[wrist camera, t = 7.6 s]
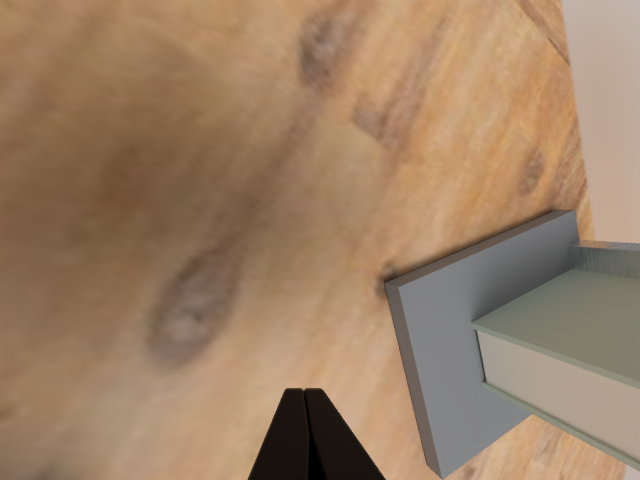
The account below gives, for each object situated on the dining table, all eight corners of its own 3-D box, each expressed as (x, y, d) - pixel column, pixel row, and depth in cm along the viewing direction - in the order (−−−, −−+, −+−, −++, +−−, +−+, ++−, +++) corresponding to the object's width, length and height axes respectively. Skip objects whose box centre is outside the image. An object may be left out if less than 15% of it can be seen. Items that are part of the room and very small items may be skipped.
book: (483, 387, 25) (735, 522, 14) (471, 323, 24) (729, 413, 13) (578, 326, 29) (830, 393, 18) (570, 269, 28) (831, 303, 17)
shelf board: (427, 465, 25) (442, 479, 24) (384, 283, 23) (398, 287, 21) (576, 360, 32) (595, 367, 30) (555, 210, 29) (575, 209, 28)
